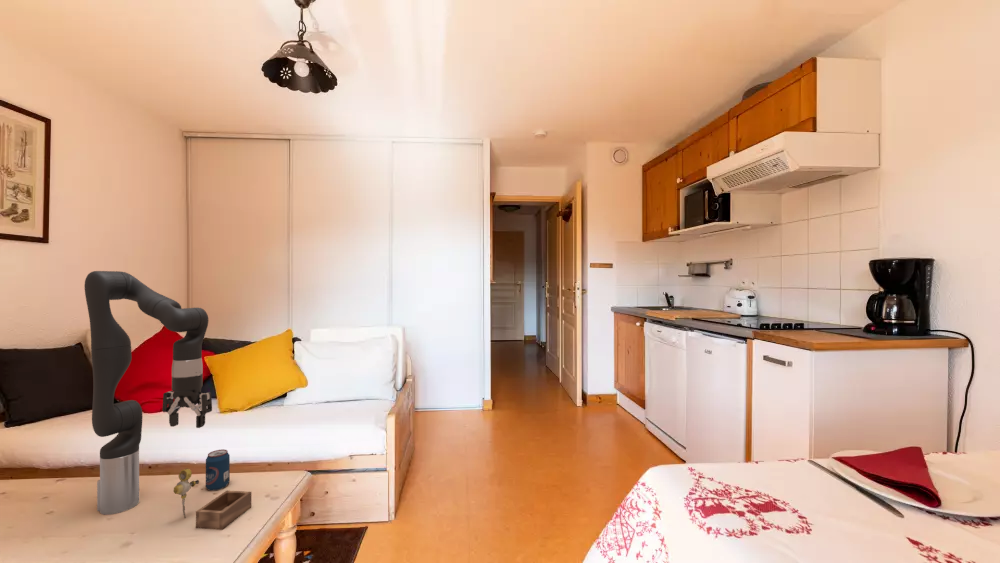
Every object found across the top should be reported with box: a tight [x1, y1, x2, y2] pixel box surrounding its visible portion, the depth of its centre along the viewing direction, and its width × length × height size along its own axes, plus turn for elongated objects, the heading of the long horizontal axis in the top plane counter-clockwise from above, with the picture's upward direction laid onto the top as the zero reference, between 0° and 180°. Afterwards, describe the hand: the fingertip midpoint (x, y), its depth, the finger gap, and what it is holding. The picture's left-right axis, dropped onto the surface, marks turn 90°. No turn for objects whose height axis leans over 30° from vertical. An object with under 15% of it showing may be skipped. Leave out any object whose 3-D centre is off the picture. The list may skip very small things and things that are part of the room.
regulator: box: [173, 467, 200, 519], centre depth 126 cm, size 8×4×15 cm, turn 168°
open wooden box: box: [195, 490, 252, 531], centre depth 126 cm, size 8×12×5 cm
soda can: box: [205, 449, 231, 492], centre depth 145 cm, size 7×7×12 cm
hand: (187, 426), depth 126 cm, fingers open, 8 cm apart
